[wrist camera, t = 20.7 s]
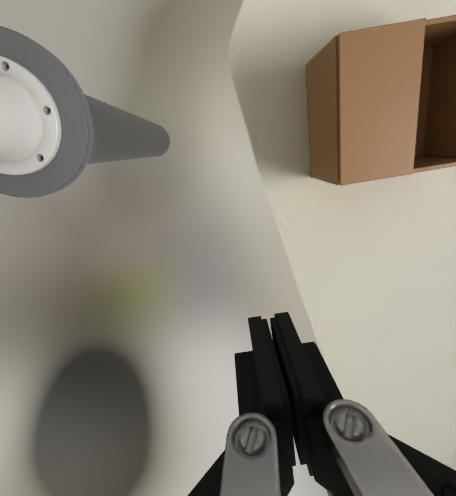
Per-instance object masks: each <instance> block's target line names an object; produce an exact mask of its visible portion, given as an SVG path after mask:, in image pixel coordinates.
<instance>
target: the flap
mask: <svg viewBox="0 0 456 496" xmlns="http://www.w3.org/2000/svg"><path fill="white" fill-rule="evenodd" d="M425 23H426V18H424V19H418V20H413V21H407V22H401V23H395V24H389V25H384V26H378V27H372V28H366V29H360V30H355V31H349V32H343V33H339V34H338V51H339V155H340V185H346V184H352V183H358V182H364V181H371V180H377V179H383V178H389V177H395V176H401V175H407V174H413V168H414V156H415V144H416V132H417V119H418V107H419V95H420V83H421V71H422V59H423V47H424V35H425Z"/></svg>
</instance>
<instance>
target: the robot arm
mask: <svg viewBox="0 0 456 496" xmlns="http://www.w3.org/2000/svg"><path fill="white" fill-rule="evenodd" d="M49 110H51V113H50V111H49ZM61 131H62V129H61V121H60V116H59V113H58V109H57V106H56V104H55V102H54V100H53V98H52V96H51V95H50V93H49V92H48V90H47V89H46V87H45V86H44V85H43V84H42V82H41V81H40V80H39V79H38V78H37V77H36V76H35V75H34V74H32V73H31V72H30V71H29V70H27V69H26V68H25V67H23V66H21V65H20V64H18V63H16V62H14V61H12V60H10V59H7V58H5V57H2V56H0V173H2V174H8V175H24V174H30V173H34V172H36V171H39V170H41V169H42V168H44V167H45V166H47V165H48V164H49V163H50V162H51V161H52V160H53V158H54V157H55V155H56V153H57V151H58V149H59V145H60V142H61ZM43 158H44V159H43ZM248 322H249V328H250V334H251V341H252V348H253V351H248V352H242V353H235V367H236V379H237V392H238V405H239V417H237V418H236V419H235V420H234V421H233V422H232V424H231V425H230V427H229V430H228V433H227V438H226V447H225V450H224V452H223V453H222V454H221V455H220V456H219V458H218V459H217V460H216V461H215V463H214V464H213V465H212V466H211V468H210V469H209V470H208V471H207V473H206V474H205V475H204V476H203V478H202V479H201V480H200V481H199V482H198V484H197V485H196V486H195V488H194V489H193V490H192V491H191V493H190V494H189V495H188V496H287V495H288V494H289V492H290V490H291V488H292V487H293V485H294V477H293V468H292V466H295V465H296V461H295V452H294V443H293V437H294V441H295V445H296V449H297V453H298V457H299V460H300V464H301V465H303V464H307V467H308V471H309V474H310V476H314V479H315V481H316V482H318V483H319V484H320V485H321V486H323V487H324V488H325V489H326V490H327V493H328V496H456V471H455V470H453V469H451V468H450V467H448V466H446V465H444V464H442V463H440V462H438V461H436V460H435V459H433V458H431V457H429V456H427V455H425V454H423V453H422V452H420V451H418V450H416V449H414V448H412V447H410V446H409V445H407V444H405V443H403V442H401V441H399V440H397V439H396V438H394V437H392V436H390V435H388V434H387V433H386V432H385V430H384V429H383V428H382V426H381V425H380V424H379V422H378V421H377V420H376V418H375V417H374V416H373V415H372V413H371V412H370V411H369V410H368V409H367V408H365V407H364V406H362V405H361V404H359V403H357V402H354V401H352V400H345V399H343V397H342V395H341V393H340V391H339V389H338V387H337V385H336V383H335V381H334V379H333V377H332V375H331V373H330V371H329V369H328V367H327V365H326V363H325V361H324V359H323V357H322V355H321V353H320V351H319V349H318V347H317V345H316V344H315V343H314V342H308V343H301V341H300V339H299V337H298V334H297V332H296V330H295V327H294V325H293V323H292V320H291V318H290V316H289V313H288V312H284V313H277V314H275V318H270V322H271V330H272V337H271V333H270V330H269V326H268V323H267V319H261V316H258V317H251V318H248ZM272 339H273V340H272Z"/></svg>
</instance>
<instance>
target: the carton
mask: <svg viewBox="0 0 456 496" xmlns="http://www.w3.org/2000/svg"><path fill="white" fill-rule="evenodd" d="M306 79H307V100H308V122H309V144H310V166H311V177H312V178H316V179H319V180H322V181H326V182H329V183H332V184H336V185H340V155H339V51H338V36H335V37H334V38H333V39H332V40H331V41H330V42H329V43H328V44H327V45H326V46H325V47H324V48H323V49H322V50H321V51H319V52H318V53H317V54H316V55H315V56H314V57H313V58H312V59H311V60H310V61H309V62H308V63H307V64H306ZM452 166H456V15H452V16H446V17H441V18H435V19H429V20H426V23H425V35H424V47H423V59H422V71H421V83H420V95H419V107H418V119H417V132H416V144H415V156H414V168H413V173H415V172H421V171H427V170H434V169H440V168H446V167H452Z"/></svg>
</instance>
